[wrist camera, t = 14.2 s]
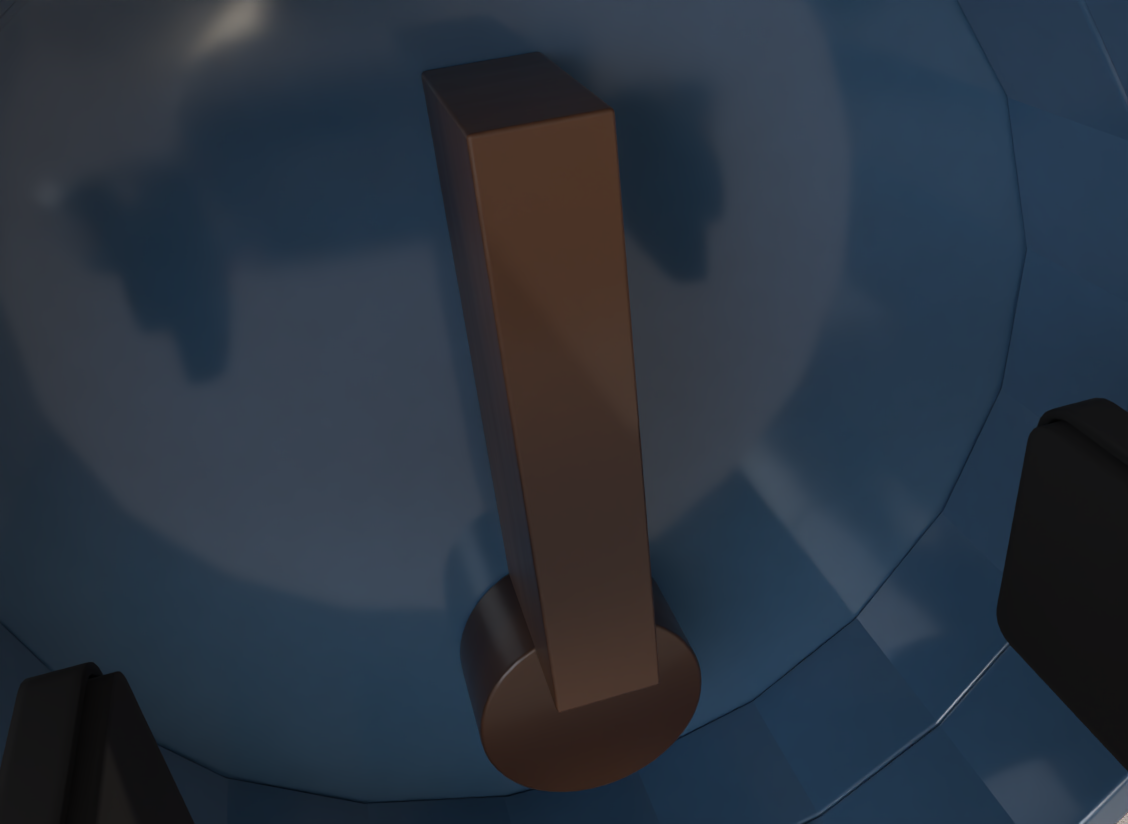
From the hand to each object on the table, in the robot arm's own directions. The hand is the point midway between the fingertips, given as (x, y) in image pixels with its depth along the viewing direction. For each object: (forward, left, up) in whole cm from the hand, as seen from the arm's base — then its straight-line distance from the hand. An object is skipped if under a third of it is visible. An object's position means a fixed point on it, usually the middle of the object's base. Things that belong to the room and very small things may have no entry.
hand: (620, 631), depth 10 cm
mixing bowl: (0, 0, -6) cm, 6 cm away
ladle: (+1, +1, -5) cm, 5 cm away
